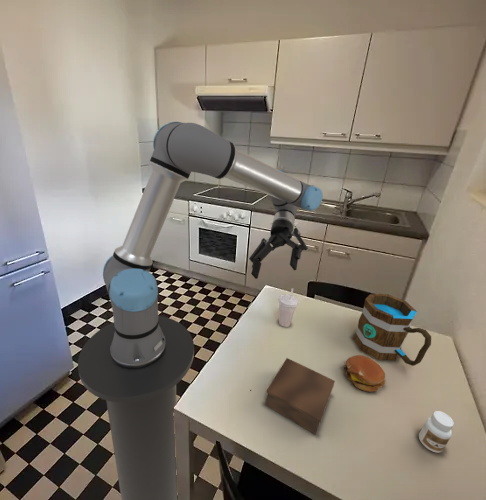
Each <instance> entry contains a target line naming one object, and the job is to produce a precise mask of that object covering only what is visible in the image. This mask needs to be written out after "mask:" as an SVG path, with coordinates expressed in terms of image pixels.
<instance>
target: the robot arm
mask: <svg viewBox="0 0 486 500" xmlns="http://www.w3.org/2000/svg"><path fill="white" fill-rule="evenodd" d="M152 141H153V142H152V144H153V146H152V147H153V151H152V154H151V157H150V158H149V164H150V167H151V172H150V175H149V177H148V180H147V183H146V185H145V187H144V190H143V192H142V195H141V197H140V200H139V201H138V205H137V208H136V210H135V212H134V215H133V218H132V220H131V223H130V226H129V228H128V230H127V233H126V235H125V238H124V240H123V243H122V245H121V246H118V247H116V248H115V249H114V251H113V254H112V255H111V256H110V257H108V259H107V260H106V261H105V263H104V265H103V270H102V277H103V282H104V284H105V287H106V290H107V295H108V297H109V301H110V304H111V309H112V316H113V317H112V318H113V322H114V326H115V333H114V338H113V341H112V343H111V347H110V352H111V358H112V360H113V362H114V363H115V364H116V365H118V366H120V367H122V368H125V369H140V368H144V367H147V366H150V365H152V364H154V363H155V362H157V361H158V360H159V359H160V358H161V357H162V356H163V354H164V352H165V349H166V340H165V336H164V335H163V332H162V330H161V328H160V326H159V324H158V316H159V302H158V300H159V297H158V295H159V290H158V289H159V288H158V284H157V279H156V277H155V276H154V275H153V274H152V273H151V272H150V270H151V267H152V265H153V264H154V262H153V261H154V260H153V259H152V257H151V255H152V252H153V250H154V248H155V245H156V243H157V241H158V238H159V236H160V234H161V231H162V229H163V226H164V224H165V221H166V219H167V217H168V215H169V212H170V210H171V207H172V205H173V203H174V200H175V198H176V196H177V193H178V190H179V188H180V186H181V184H182V183H184V182H186V181H188V180H189V178H190V177H191V174H192V173H196V174H201V175H205V176H209V177H212V178H215V179H218V180H222V179H228V180H230V181H233V182H235V183H238V184H240V185H243V186H245V187H248V188H250V189H253V190H256V191H258V192H260V193H263V194H265V195H268V196H269V198H270V200H271V203H272V205H273V208H274V210H275V212H274V216H273V220H272V222H271V223H272V224H271V228H270V236H269V237H268V238H267V239H266V238H265V237H264V238H261V241H260V243H259V244H258V245H257V247H256V249H254V251H253V252H252V254H251V255H250V256H249V258H248V259H249V260H250V262H251V263H252V264H251V273H250V274H251V275H252V277H253V278H254V279H255V280H257V279H258V278H259V274H260V272H261V267H262V261H263V260H264V259H265V258H267V256H268V255H269V254H270V253H271V252H274V250H276V249H277V248H280V247H284V246H288V247H290V248H292V249H291V254H290V261H289V266H290V267H291V268H292V270H293V271H296V270H298V269H297V268H298V261H299V260H301V256H302V252H303V251H307V250H308V249H309V247H308V246H307V244H306V242H305V241H304V239H303V238H302V237H301V232H300V231H299V229H298V227H295V228H294V226H295V222H296V221H295V220H296V216H297V215H296V214H297V211H298V208H299V209H302V210H306V211H309V212H311V211H315V210H317V209H318V208H319V207H320V205H321V204H322V202H323V198H324V194H323V191H322V189H321V188H320V187H318V186H315V185H313V184H312V185H311V184H308V183H305V182H303V181H302V180H299V179H297V178H295V177H294V176H291V175H289V174H287V173H285V171H283V170H282V169H277V168H276V167H273V166H271V165H269V164H267V163H265V162H263V161H261V160H259V159H256V158H255V157H252V156H250V155H248V154H247V153H245V152H242V151H240V150H238V149H237V148H236V144H235V143H233V142H232V141H230V140H227V139H226V138H225V137H223V136H221V135H219V134H217V133H215V132H214V131H212V130H210V129H209V128H207V127H205V126H203V125H201V124H199V123H196V122H182V121H181V122H180V121H170V122H168V123H165V124H164V125H162V126H161V127H159V128H158V130H157V131H156V132H155V135H154V136H153V140H152ZM293 237H294V238H296V240H297V241H298V243H299V244H298V243H296V242H294V241H293V240H292V238H293Z"/></svg>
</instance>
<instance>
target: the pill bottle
mask: <svg viewBox="0 0 486 500" xmlns="http://www.w3.org/2000/svg"><path fill="white" fill-rule="evenodd" d="M454 425H455V423H454V420H453V419H452V417H451V416H450V415H448V414H447V413H445V412H443V411H441V410H435V411H433V413H432V414H431V416H429V417H427V418H426V420H425V422H424V424H423V426H422V428H421V430H420V432H419V433H418V439H419V441H420V443H421V444H422V445H423V446H424V447H425V448H426V449H427V450H429V451H431V452H433V453H439V454H440V453H442V452H443V451H444V449H445V448H446V446H447V445H448V443H449V441H450V439H451V437H452V436H453V431H452V429H453V427H454Z"/></svg>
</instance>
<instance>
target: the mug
mask: <svg viewBox="0 0 486 500" xmlns="http://www.w3.org/2000/svg"><path fill="white" fill-rule="evenodd" d="M417 312H418V311H417V310H416V309H415V308H414V307H412V305H411V304H409V302H407V301H406V300H404V299H401V298H398V297H396V296H394V295H391V294H389V293H375V292H374V293H373V292H371V293H370V294H369V295H367V297H366V298H365V299H364V305H363V309H362V312H361V313H360V317H359V318H358V323H357V327H356V330H355V333H354V335H353V337H352V340H353V341H354V343H355V345H356V346H357V348H358V349H359V351H361V352H363V353H364V354H365V355H366V354H367V355H368V356H370V357H372V358H374V359H376V361H393V362H395V361H397V359H398V357H400V358H401V360H402V361H403V362H404V363H405V364H406V365H408V366H409V365H410V366H412V367H413V366H416V365H419V364H420V363H421V362H422V361H423V360H424V358H425V355H426V353H427V351H428V350H429V348H430V347H431V345H432V335H431V334H430V333H429V332H428V331H427V330H426V329H424V328H421V327H414V328H413V327H411V324H412V322H413V320H414V318H415V316H416V315H417ZM414 333H418V334H421V335H422V337H423V338H424V343H423V345H422V347H421V348H420V349H419V351H418V353H417V355H416V357H415V359H414V360H412V359H410V357H409V356H408V355H407V354H406V353H405V352H404V351H403V350H402V346H403V344H404V341H405V340H406V338H407V336H408V334H414Z"/></svg>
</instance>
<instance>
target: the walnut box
mask: <svg viewBox="0 0 486 500" xmlns="http://www.w3.org/2000/svg"><path fill="white" fill-rule="evenodd" d="M335 382H336V380H334V379H332V378H330V377H328V376H325V375H324V374H322V373H320V372H317V371H315V370H314V369H311V368H309V367H307V366H306V365H303V364H301V363H298V362H297V361H294V360H293V359H290V358H288V357H286V358H285V360H284V362H283V364H282V365H281V366H280V368H279V370H278V372H277V373H276V375H275V376H274V378H273V379H272V381H271V383H270V385H269V386H268V388H267V390H266V393H267V394H266V401H265V406H266V407H268V408H270V409H271V410H273V411H274V412H276V413H278V414H279V415H282V416H283V417H285V418H286V419H288V420H290V421H291V422H292V423H295V424H297V425H298V426H300V427H301V428H303V429H305V430H307V431H309V432H310V433H312V434H314V435H315V436H316V435H317V433H318V430H319V427H320V424H321V423H322V420H323V417H324V414H325V412H326V408H327V405H328V402H329V400H330V397H331V394H332V391H333V389H334V385H335V384H336V383H335Z"/></svg>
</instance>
